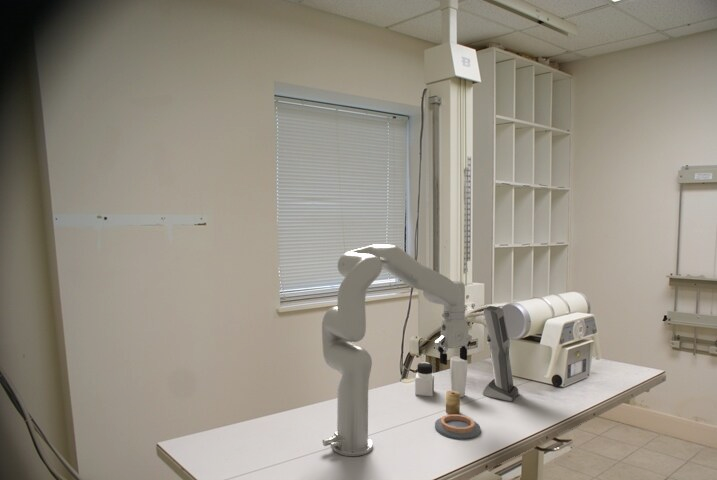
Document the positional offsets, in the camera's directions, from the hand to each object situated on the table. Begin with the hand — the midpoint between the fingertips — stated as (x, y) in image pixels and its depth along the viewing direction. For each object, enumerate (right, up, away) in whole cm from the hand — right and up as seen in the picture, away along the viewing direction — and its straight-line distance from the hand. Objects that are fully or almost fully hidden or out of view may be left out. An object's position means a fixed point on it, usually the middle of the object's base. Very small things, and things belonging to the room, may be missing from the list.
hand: (453, 361), depth 167 cm
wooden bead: (0, -19, +1) cm, 19 cm away
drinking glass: (+5, -18, +17) cm, 26 cm away
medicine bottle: (-8, -18, +20) cm, 28 cm away
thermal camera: (+23, -19, +18) cm, 35 cm away
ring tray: (-1, -19, -13) cm, 23 cm away
